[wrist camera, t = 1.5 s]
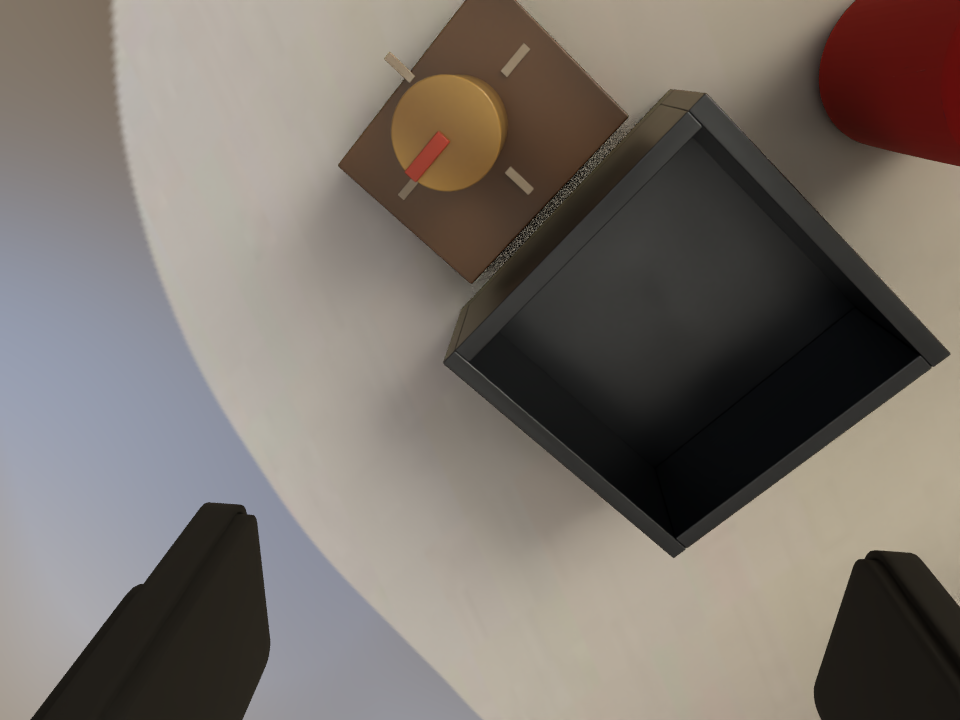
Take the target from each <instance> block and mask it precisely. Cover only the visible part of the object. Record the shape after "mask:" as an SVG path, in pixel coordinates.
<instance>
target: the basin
mask: <svg viewBox="0 0 960 720" xmlns="http://www.w3.org/2000/svg"><path fill="white" fill-rule="evenodd" d="M949 355H950V352H949V351H948V350H947V349H946V348H945V347H944V346H943V345H942V344H941V343H940V342H939V340H938V339H937V338H936V337H935V336H934V335H933V334H932V333H931V332H930V331H929V330H928V329H927V328H926V327H925V326H924V324H923V323H922V322H921V321H920V320H919V319H918V318H917V317H916V316H915V315H914V314H913V313H912V312H911V311H910V310H909V308H908V307H907V306H906V305H905V304H904V303H903V302H902V301H901V300H900V299H899V298H898V297H897V296H896V295H895V294H894V292H893V291H892V290H891V289H890V288H889V287H888V286H887V285H886V284H885V283H884V282H883V281H882V280H881V279H880V278H879V276H878V275H877V274H876V273H875V272H874V271H873V270H872V269H871V268H870V267H869V266H868V265H867V264H866V263H865V262H864V261H863V259H862V258H861V257H860V256H859V255H858V254H857V253H856V252H855V251H854V250H853V249H852V248H851V247H850V246H849V245H848V243H847V242H846V241H845V240H844V239H843V238H842V237H841V236H840V235H839V234H838V233H837V232H836V231H835V230H834V229H833V227H832V226H831V225H830V224H829V223H828V222H827V221H826V220H825V219H824V218H823V217H822V216H821V215H820V214H819V213H818V211H817V210H816V209H815V208H814V207H813V206H812V205H811V204H810V203H809V202H808V201H807V200H806V199H805V198H804V197H803V196H802V194H801V193H800V192H799V191H798V190H797V189H796V188H795V187H794V186H793V185H792V184H791V183H790V182H789V181H788V180H787V178H786V177H785V176H784V175H783V174H782V173H781V172H780V171H779V170H778V169H777V168H776V167H775V166H774V165H773V164H772V162H771V161H770V160H769V159H768V158H767V157H766V156H765V155H764V154H763V153H762V152H761V151H760V150H759V149H758V148H757V146H756V145H755V144H754V143H753V142H752V141H751V140H750V139H749V138H748V137H747V136H746V135H745V134H744V133H743V132H742V131H741V129H740V128H739V127H738V126H737V125H736V124H735V123H734V122H733V121H732V120H731V119H730V118H729V117H728V116H727V115H726V113H725V112H724V111H723V110H722V109H721V108H720V107H719V106H718V105H717V104H716V103H715V102H714V101H713V100H712V99H711V97H710V96H709V95H708V94H707V93H701V92H692V91H683V90H673V89H670V90H669V91H668V92H667V93H666V94H665V95H664V96H663V97H662V98H661V99H660V101H659V102H658V103H657V104H656V105H655V106H654V107H653V108H652V109H651V110H650V111H649V112H648V113H647V114H646V115H645V116H644V117H643V118H642V120H641V121H640V122H639V123H638V124H637V125H636V126H635V127H634V128H633V129H632V130H631V131H630V132H629V133H628V134H627V135H626V136H625V137H624V138H623V140H622V141H621V142H620V143H619V144H618V145H617V146H616V147H615V148H614V149H613V150H612V151H611V152H610V153H609V154H608V155H607V156H606V157H605V159H604V160H603V161H602V162H601V163H600V164H599V165H598V166H597V167H596V168H595V169H594V170H593V171H592V172H591V173H590V174H589V175H588V176H587V177H586V179H585V180H584V181H583V182H582V183H581V184H580V185H579V186H578V187H577V188H576V189H575V190H574V191H573V192H572V193H571V194H570V195H569V196H568V198H567V199H566V200H565V201H564V202H563V203H562V204H561V205H560V206H559V207H558V208H557V209H556V210H555V211H554V212H553V213H552V214H551V215H550V216H549V218H548V219H547V220H546V221H545V222H544V223H543V224H542V225H541V226H540V227H539V228H538V229H537V230H536V231H535V232H534V233H533V234H532V235H531V237H530V238H529V239H528V240H527V241H526V242H525V243H524V244H523V245H522V246H521V247H520V248H519V249H518V250H517V251H516V252H515V253H514V254H513V255H512V257H511V258H510V259H509V260H508V261H507V262H506V263H505V264H504V265H503V266H502V267H501V268H500V269H499V270H498V271H497V272H496V273H495V274H494V276H493V277H492V278H491V279H490V280H489V281H488V282H487V283H486V284H485V285H484V286H483V287H482V288H481V289H480V290H479V291H478V292H477V293H476V294H475V296H474V297H473V298H472V299H471V300H470V301H469V302H468V303H467V304H466V305H465V306H464V307H463V308H462V309H461V312H460V315H459V318H458V321H457V324H456V327H455V330H454V332H453V335H452V338H451V341H450V344H449V347H448V350H447V353H446V356H445V359H444V361H443V364H444V365H446V366H447V367H448V368H449V369H450V370H452V371H453V372H454V373H455V374H456V375H457V376H459V377H460V378H461V379H462V380H463V381H465V382H466V383H467V384H468V385H469V386H470V387H472V388H473V389H474V390H475V391H476V392H478V393H479V394H480V395H481V396H482V397H483V398H485V399H486V400H487V401H488V402H489V403H491V404H492V405H493V406H494V407H495V408H496V409H498V410H499V411H500V412H501V413H502V414H504V415H505V416H506V417H507V418H508V419H510V420H511V421H512V422H513V423H514V424H515V425H517V426H518V427H519V428H520V429H521V430H523V431H524V432H525V433H526V434H527V435H528V436H530V437H531V438H532V439H533V440H534V441H536V442H537V443H538V444H539V445H540V446H541V447H543V448H544V449H545V450H546V451H547V452H549V453H550V454H551V455H552V456H553V457H554V458H556V459H557V460H558V461H559V462H560V463H562V464H563V465H564V466H565V467H566V468H567V469H569V470H570V471H571V472H572V473H573V474H575V475H576V476H577V477H578V478H579V479H580V480H582V481H583V482H584V483H585V484H586V485H588V486H589V487H590V488H591V489H592V490H594V491H595V492H596V493H597V494H598V495H599V496H601V497H602V498H603V499H604V500H605V501H607V502H608V503H609V504H610V505H611V506H612V507H614V508H615V509H616V510H617V511H618V512H620V513H621V514H622V515H623V516H624V517H625V518H627V519H628V520H629V521H630V522H631V523H633V524H634V525H635V526H636V527H637V528H638V529H640V530H641V531H642V532H643V533H644V534H646V535H647V536H648V537H649V538H650V539H651V540H653V541H654V542H655V543H656V544H657V545H659V546H660V547H661V548H662V549H663V550H664V551H666V552H667V553H668V554H669V555H670V556H672V557H673V558H675V557H676V556H677V555H679V554H680V553H681V552H683V551H684V550H685V549H686V548H688V547H689V546H691V545H692V544H693V543H695V542H696V541H697V540H699V539H700V538H702V537H703V536H704V535H706V534H707V533H708V532H710V531H711V530H712V529H714V528H715V527H716V526H718V525H719V524H721V523H722V522H723V521H725V520H726V519H727V518H729V517H730V516H731V515H733V514H734V513H735V512H737V511H738V510H740V509H741V508H742V507H744V506H745V505H746V504H748V503H749V502H750V501H752V500H753V499H754V498H756V497H757V496H759V495H760V494H761V493H763V492H764V491H765V490H767V489H768V488H769V487H771V486H772V485H773V484H775V483H776V482H778V481H779V480H780V479H782V478H783V477H784V476H786V475H787V474H788V473H790V472H791V471H792V470H794V469H795V468H797V467H798V466H799V465H801V464H802V463H803V462H805V461H806V460H807V459H809V458H810V457H811V456H813V455H814V454H816V453H817V452H818V451H820V450H821V449H822V448H824V447H825V446H826V445H828V444H829V443H830V442H832V441H833V440H835V439H836V438H837V437H839V436H840V435H841V434H843V433H844V432H845V431H847V430H848V429H850V428H851V427H852V426H854V425H855V424H856V423H858V422H859V421H860V420H862V419H863V418H864V417H866V416H867V415H869V414H870V413H871V412H873V411H874V410H875V409H877V408H878V407H879V406H881V405H882V404H883V403H885V402H886V401H888V400H889V399H890V398H892V397H893V396H894V395H896V394H897V393H898V392H900V391H901V390H902V389H904V388H905V387H907V386H908V385H909V384H911V383H912V382H913V381H915V380H916V379H917V378H919V377H920V376H921V375H923V374H924V373H926V372H927V371H928V370H930V369H931V368H932V367H934V366H936V365H937V364H938V363H940V362H941V361H942V360H944V359H945V358H946V357H948V356H949ZM931 366H932V367H931Z"/></svg>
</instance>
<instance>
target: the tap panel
mask: <svg viewBox="0 0 960 720" xmlns="http://www.w3.org/2000/svg"><path fill="white" fill-rule="evenodd" d="M384 59H385V60H386V61H387V62H388V63H389V64H390V65H391V66H392V67H393V68H394V69H395V70H396V71H397V72H398V73H399V74H401V75H402V76H403V77H404V78H405V79H404V80H403V82H402V83H401V84H400V85H399V87H398V88H397V89H396V91H395V92H394V93H393V94H392V96H391V97H390V98H389V100H388V101H387V102H386V103H385V105H384V106H383V107H382V109H381V110H380V111H379V113H378V114H377V115H376V116H375V118H374V119H373V120H372V122H371V123H370V124H369V125H368V127H367V128H366V129H365V131H364V132H363V133H362V134H361V136H360V137H359V138H358V140H357V141H356V142H355V144H354V145H353V146H352V147H351V149H350V150H349V151H348V153H347V154H346V155H345V156H344V158H343V159H342V160H341V162H340V163H339V164H338V166H339V167H340V168H341V169H342V170H343V171H344V172H345V173H346V174H348V175H349V176H350V177H351V178H352V179H353V180H354V181H355V182H357V183H358V184H359V185H360V186H361V187H362V188H363V189H364V190H366V191H367V192H368V193H369V194H370V195H371V196H372V197H373V198H375V199H376V200H377V201H378V202H379V203H380V204H381V205H382V206H384V207H385V208H386V209H387V210H388V211H389V212H390V213H391V214H393V215H394V216H395V217H396V218H397V219H398V220H399V221H401V222H402V223H403V224H404V225H405V226H406V227H407V228H408V229H410V230H411V231H412V232H413V233H414V234H415V235H416V236H417V237H419V238H420V239H421V240H422V241H423V242H424V243H425V244H426V245H428V246H429V247H430V248H431V249H432V250H433V251H434V252H435V253H437V254H438V255H439V256H440V257H441V258H442V259H443V260H444V261H446V262H447V263H448V264H449V265H450V266H451V267H452V268H454V269H455V270H456V271H457V272H458V273H459V274H460V275H461V276H463V277H464V278H465V279H466V280H467V281H468V282H469V283H471V284H472V283H473V282H474V281H475V280H476V279H477V278H478V277H479V276H480V275H481V274H482V273H483V272H484V271H485V269H486V268H487V267H488V266H489V265H490V264H491V263H492V262H493V261H494V260H495V259H496V258H497V257H498V256H499V255H500V253H501V252H502V251H503V250H504V249H505V248H506V247H507V246H508V245H509V244H510V243H511V242H512V241H513V240H514V239H515V238H516V236H517V235H518V234H519V233H520V232H521V231H522V230H523V229H524V228H525V227H526V226H527V225H528V224H529V223H530V222H531V220H532V219H533V218H534V217H535V216H536V215H537V214H538V213H539V212H540V211H541V210H542V209H543V208H544V207H545V206H546V204H547V203H548V202H549V201H550V200H551V199H552V198H553V197H554V196H555V195H556V194H557V193H558V192H559V191H560V190H561V189H562V187H563V186H564V185H565V184H566V183H567V182H568V181H569V180H570V179H571V178H572V177H573V176H574V175H575V174H576V173H577V171H578V170H579V169H580V168H581V167H582V166H583V165H584V164H585V163H586V162H587V161H588V160H589V159H590V158H591V157H592V155H593V154H594V153H595V152H596V151H597V150H598V149H599V148H600V147H601V146H602V145H603V144H604V143H605V142H606V141H607V140H608V138H609V137H610V136H611V135H612V134H613V133H614V132H615V131H616V130H617V129H618V128H619V127H620V126H621V125H622V124H623V122H624V121H625V120H626V119H627V118H628V114H627V113H626V112H625V111H624V110H623V109H622V108H621V107H620V106H619V105H618V104H617V103H616V102H615V101H614V100H613V99H612V98H611V97H610V96H609V95H608V94H607V93H606V92H605V91H604V90H603V89H602V88H601V87H600V86H599V85H598V84H597V83H596V82H595V81H594V80H593V79H592V78H591V77H590V76H589V75H588V74H587V73H586V72H585V70H584V69H583V68H582V67H581V66H580V65H579V64H578V63H577V62H576V61H575V60H574V59H573V58H572V57H571V56H570V55H569V54H568V53H567V52H566V51H565V50H564V49H563V48H562V47H561V46H560V45H559V44H558V43H557V42H556V41H555V40H554V39H553V38H552V37H551V36H550V35H549V34H548V33H547V32H546V31H545V30H544V29H543V28H542V27H541V26H540V25H539V24H538V23H537V22H536V21H535V19H534V18H533V17H532V16H531V15H530V14H529V13H528V12H527V11H526V10H525V9H524V8H523V7H522V6H521V5H520V4H519V3H518V2H517V1H516V0H465V1H464V3H463V4H462V5H461V7H460V8H459V9H458V10H457V12H456V13H455V14H454V16H453V17H452V18H451V19H450V21H449V22H448V23H447V25H446V26H445V27H444V29H443V30H442V31H441V32H440V34H439V35H438V36H437V38H436V39H435V40H434V41H433V43H432V44H431V45H430V47H429V48H428V49H427V51H426V52H425V53H424V54H423V56H422V57H421V58H420V60H419V61H418V62H417V63H416V65H415V66H414V67H413V69H412V70H411V71H410V70H409V69H408V68H406V67H405V66H404V65H403V64H402V63H401V62H400V61H399V60H398V59H397V58H396V57H395V56H394V55H393V54H392V53H391V52H389V53H388V54H387V55H386V57H385V58H384ZM441 74H446V75H470V76H473V77H476V78H479V79H481V80H483V81H484V82H486V83H487V84H489V85H490V86H491V87H492V88H493V89H494V90H495V91H496V92H497V94H498V95H499V97H500V98H501V100H502V102H503V104H504V107H505V109H506V113H507V119H508V131H507V137H506V141H505V143H504V146H503V148H502V150H501V152H500V154H499V155H498V157H497V159H496V161H495V163H494V164H493V166H492V168H491V169H490V170H489V172H488V173H487V174H486V175H485V176H484V177H483V178H482V179H481V180H480V181H478V182H477V183H475V184H474V185H472V186H470V187H468V188H465V189H462V190H458V191H451V192H446V191H437V190H433V189H430V188H427V187H425V186H423V185H421V184H420V183H418V182H414V181H413V180H412V179H411V178H410V177H409V176H408V175H407V174H406V173H405V170H404V169H403V168H402V166H401V165H400V163H399V161H398V159H397V157H396V155H395V152H394V149H393V145H392V139H391V123H392V118H393V114H394V111H395V108H396V106H397V104H398V102H399V100H400V99H401V97H402V96H403V95H404V93H405V92H406V91H407V90H408V89H409V88H410V87H412V86H413V85H414V84H416V83H417V82H419V81H420V80H423V79H425V78H427V77H431V76H434V75H441Z"/></svg>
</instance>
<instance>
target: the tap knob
mask: <svg viewBox="0 0 960 720" xmlns="http://www.w3.org/2000/svg"><path fill="white" fill-rule="evenodd" d="M507 131H508V119H507V113H506V109H505V107H504V104H503V102H502V100H501V98H500V97H499V95H498V94H497V92H496V91H495V90H494V89H493V88H492V87H491V86H490V85H489V84H487V83H486V82H484V81H483V80H481V79H479V78H476V77H473V76H470V75H446V74H441V75H434V76H431V77H427V78H425V79H423V80H420V81H419V82H417V83H416V84H414V85H413V86H412V87H410V88H409V89H408V90H407V91H406V92H405V93H404V95H403V96H402V97H401V99H400V100H399V102H398V104H397V106H396V108H395V111H394V114H393V118H392V123H391V139H392V145H393V149H394V152H395V155H396V157H397V159H398V161H399V163H400V165H401V166H402V168H403V169H404V170H405V173H406V174H407V175H408V176H409V177H410V178H411V179H412V180H413V181H414V182H418V183H420V184H421V185H423V186H425V187H427V188H430V189H433V190H437V191H446V192H451V191H458V190H462V189H465V188H468V187H470V186H472V185H474V184H475V183H477V182H478V181H480V180H481V179H482V178H483V177H484V176H485V175H486V174H487V173H488V172H489V170H490V169H491V168H492V166H493V164H494V163H495V161H496V159H497V157H498V155H499V154H500V152H501V150H502V148H503V146H504V143H505V141H506V137H507Z"/></svg>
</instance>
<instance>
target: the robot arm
mask: <svg viewBox="0 0 960 720" xmlns="http://www.w3.org/2000/svg"><path fill="white" fill-rule="evenodd" d="M269 651H270V634H269V625H268V616H267V607H266V598H265V589H264V580H263V571H262V562H261V554H260V544H259V535H258V526H257V520H256V517H255V516H254V515H247V513H246V509H245V507H244V506H242V505H237V504H224V503H223V504H222V503H210V502H208V503H205V504H204V505H203V506H202V507H201V508H200V509H199V510H198V512H197V513H196V514H195V516H194V517H193V518H192V520H191V521H190V522H189V524H188V525H187V527H186V528H185V529H184V530H183V532H182V533H181V535H180V536H179V537H178V538H177V540H176V541H175V542H174V544H173V545H172V546H171V548H170V549H169V550H168V552H167V553H166V554H165V556H164V557H163V558H162V560H161V561H160V563H159V564H158V565H157V566H156V568H155V569H154V571H153V572H152V573H151V575H150V576H149V577H148V579H147V580H146V581H145V583H144V584H139V585H137V586H135V587H133V588H132V589H131V590H130V591H129V592H128V593H127V595H126V596H125V597H124V598H123V600H122V601H121V602H120V603H119V605H118V606H117V607H116V609H115V610H114V611H113V613H112V614H111V615H110V617H109V618H108V619H107V621H106V622H105V623H104V624H103V626H102V627H101V628H100V630H99V631H98V632H97V634H96V635H95V636H94V638H93V639H92V640H91V641H90V643H89V644H88V645H87V647H86V648H85V649H84V651H83V652H82V653H81V655H80V656H79V657H78V658H77V660H76V661H75V662H74V664H73V665H72V666H71V668H70V669H69V670H68V671H67V673H66V674H65V676H64V677H63V678H62V679H61V681H60V682H59V683H58V685H57V686H56V687H55V688H54V690H53V691H52V692H51V694H50V695H49V696H48V698H47V699H46V700H45V702H44V703H43V704H42V706H41V707H40V708H39V709H38V711H37V712H36V713H35V715H34V716H33V717H32V719H31V720H242V719H243V717H244V715H245V712H246V710H247V708H248V706H249V703H250V701H251V699H252V696H253V694H254V692H255V690H256V687H257V685H258V683H259V680H260V678H261V675H262V673H263V671H264V669H265V667H266V664H267V661H268V657H269ZM814 700H815V705H816V708H817V711H818V713H819V716H820V718H821V720H960V607H959V606H958V604H957V603H956V602H955V601H954V599H953V598H952V597H951V596H950V595H949V593H948V592H947V591H946V590H945V588H944V587H943V586H942V585H941V583H940V582H939V581H938V580H937V579H936V577H935V576H934V575H933V574H932V572H931V571H930V570H929V569H928V567H927V566H926V565H925V564H924V563H923V561H922V560H921V559H920V558H919V557H918V556H917V555H915V554H912V553H905V552H891V551H878V550H874V551H870V552H869V553H868V554H867V555H866V557H865V559H859V560H857V561H856V562H855V564H854V566H853V569H852V572H851V575H850V578H849V581H848V584H847V587H846V590H845V594H844V597H843V600H842V603H841V606H840V609H839V612H838V615H837V618H836V621H835V624H834V627H833V630H832V633H831V636H830V639H829V642H828V645H827V648H826V651H825V654H824V657H823V661H822V664H821V667H820V670H819V673H818V676H817V679H816V682H815V686H814Z"/></svg>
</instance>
